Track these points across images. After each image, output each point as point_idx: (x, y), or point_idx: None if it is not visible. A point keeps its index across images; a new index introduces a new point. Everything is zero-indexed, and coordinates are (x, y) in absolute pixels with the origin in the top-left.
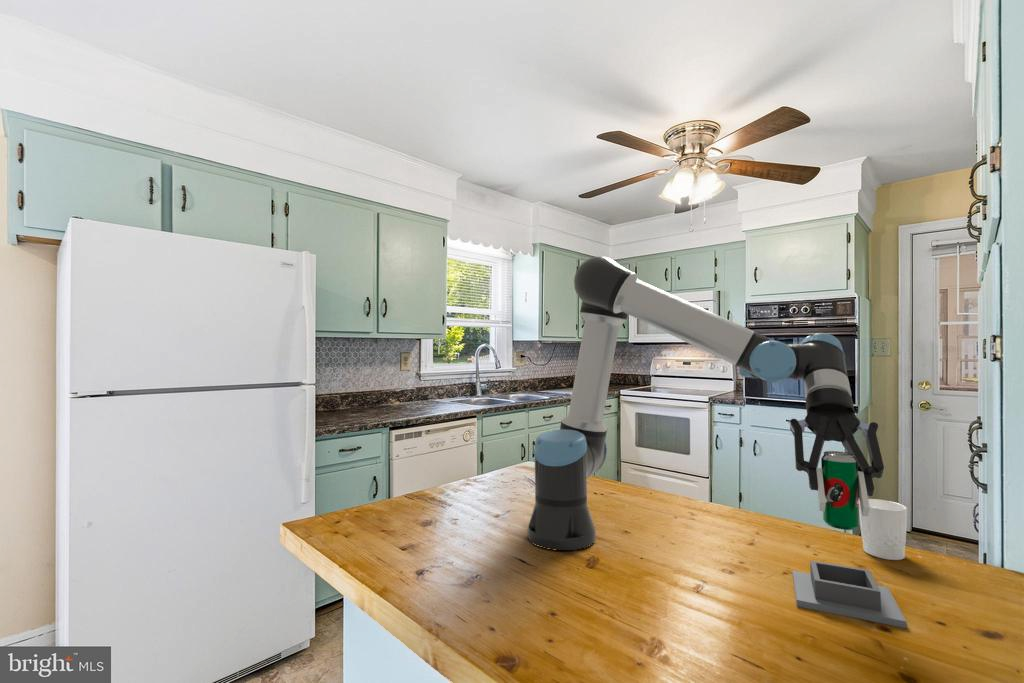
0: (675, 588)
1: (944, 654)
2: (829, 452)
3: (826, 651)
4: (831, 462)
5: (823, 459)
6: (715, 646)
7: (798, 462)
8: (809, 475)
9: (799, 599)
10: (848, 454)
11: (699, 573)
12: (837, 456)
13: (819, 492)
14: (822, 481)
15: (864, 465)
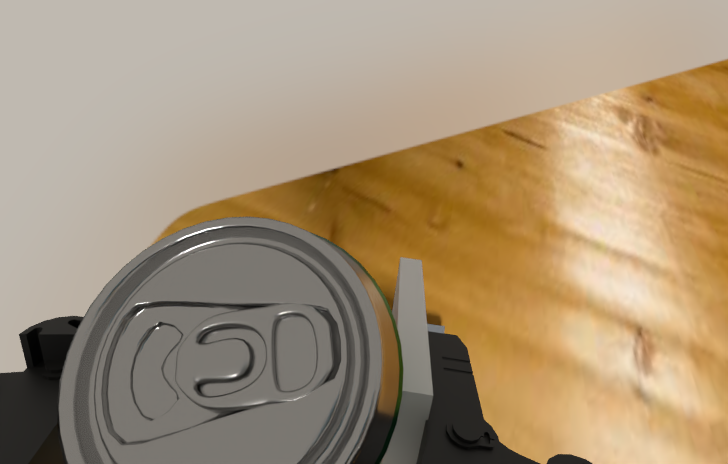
0: (686, 331)
1: None
2: (313, 396)
3: (418, 191)
4: (348, 255)
5: (394, 332)
6: (568, 158)
7: (588, 461)
8: (472, 387)
9: (438, 329)
10: (112, 387)
11: (664, 444)
12: (292, 228)
13: (422, 283)
14: (402, 318)
15: (43, 392)
